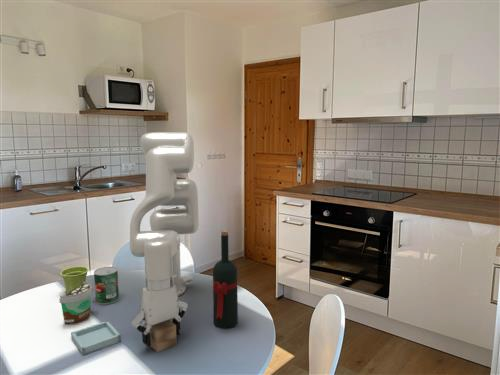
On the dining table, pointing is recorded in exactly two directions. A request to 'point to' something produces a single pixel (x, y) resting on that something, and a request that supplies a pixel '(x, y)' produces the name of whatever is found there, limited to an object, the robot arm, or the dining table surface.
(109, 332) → the tray
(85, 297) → the food container
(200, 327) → the dining table surface
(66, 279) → the plant pot
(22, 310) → the dining table surface
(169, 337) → the cube
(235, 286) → the wine bottle
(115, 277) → the canned tomato
